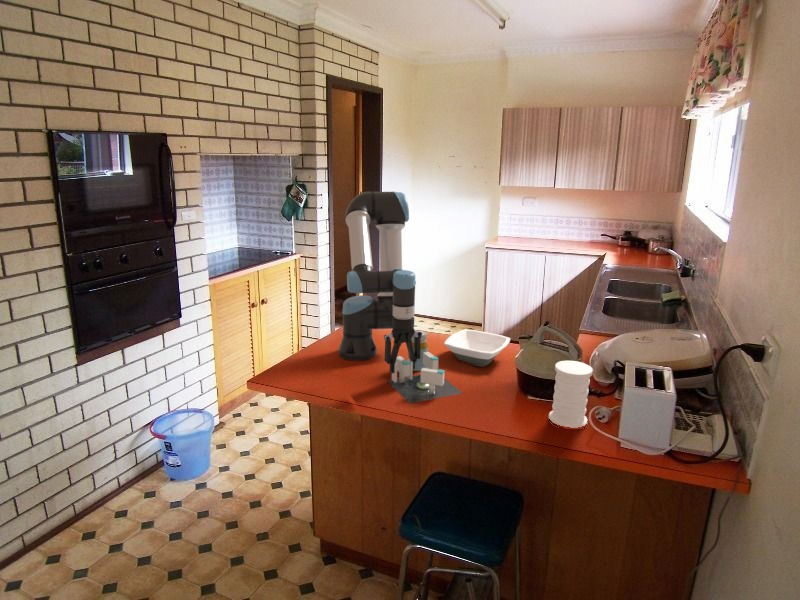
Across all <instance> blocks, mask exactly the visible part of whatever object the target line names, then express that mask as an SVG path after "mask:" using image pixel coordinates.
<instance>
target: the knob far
mask: <svg viewBox="0 0 800 600" xmlns="http://www.w3.org/2000/svg"><path fill="white" fill-rule="evenodd" d="M439 360H440V359H439V357H437V356H435V355H433V353H431V352H430V351H428V352H423V365H425V366H426V367H427V369H434V370H439Z"/></svg>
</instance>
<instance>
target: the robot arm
mask: <svg viewBox="0 0 800 600" xmlns="http://www.w3.org/2000/svg"><path fill="white" fill-rule="evenodd" d="M344 220H345V223H346V226H347V227H348V236H349V238H348V239H349V248H350V249H349V250H350V264H351V271H348V272H347V273H346V283H347V284H346V285H347V291H348V293H350V294H352V293H353V294H362V295H355V296H351V297H349V298H347V299H345V300H344V301H343V303H342V312H341V314H342V338H341V341H340V344H339V347H338V356H339V357H340V358H342V359H344V360H347V361H353V362H354V361H355V362H356V361H357V362H358V361H367V360H370V359H373V358H375V357H376V355H377V346H376V343H375V340H374V337H373V330H390V329H392V330H391V331H390V332H391V333H390V334H384V335H383V338H384V362H385V363H386V364H388V365H389V373H391V380H393V381H394V382H397V379H398V371H397V364H396V363H395V362H396V359H397V357H398V354H399V351H400V347H402V346H401V345H402V344H404V343H405V345H406V348H407V349H406V350H407V353H408V355H409V357H410V359H409V360H408V359H407V361H409V362H410V376H406V377H408V378H409V379H410V380H412V379H413V376H414V375H413V370H414V369H415V362H416V361H417V359H420V339H421V336H422V333H421V332H420V331H418V330H419V329H415V314H416V313H415V311H416V310H415V309H416V308H415V307H416V304H415V303H416V300H415V299H416V284H417V281H416V274H415V272H413V271H411V270H408V269H407V270H406V269H403V255H402V252H403V249H402V248H403V247H402V243H403V242H402V230H403V229H404V228H405V227H406V223H407V222H408V221H409V220H410V209H409V203H408V199H407V197H406V194H405V193H403V192H402V191H400V192H399V191H393V190H392V191H365V192H361V193H359V194H357V195H355V197H354V198H352V200H351V201H350V202H349V204H348V206H347V207H346V209H345V219H344ZM371 222H372V223H373V222H375V227H376V228H377V230H378V231H379V256H380V262H379V263H380V265H379V266H380V271H379V270H374V265H373V257H372V246H371V237H370V236H371V235H370V227H369V225H370V224H371ZM366 293H367V294H368V293H370V294H371V293H372V294H373V293H378V294H377V299H373V297H372V296H370V295H364V294H366ZM415 330H417V331H415ZM413 335H414V350H413V346H412V340H411V338H412V337H413ZM392 340H393V346H392Z"/></svg>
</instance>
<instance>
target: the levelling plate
mask: <svg viewBox="0 0 800 600" xmlns="http://www.w3.org/2000/svg"><path fill="white" fill-rule="evenodd" d="M420 380H421V374H418V375H413V379H412V380H410V379H409V378H408V377H407V376H405V382H404V383H400V382H399V378H397V382H394V381H393V380H392V379H389V380H386V382H387V383H388V384H389V385H390V386H391V387H392V388H393V389H394V390H395V391H396V392H397V393H398V394H399V395H400V396H401V397H402V398H403V399H404V400H405V401H406V402H407V403H408V404H413V403H418V402H419V403H420V402H424V401H429V400H435V399H440V398H445V397H450V396H455V395H461V394H463V392H462V391H461V390H460V389H459V388H458V387H456V386H454V385H453V384H452V383H451V382H450V381H448V380H447V379H446V378H445V377H444V384H443V386H440V385H435V394H429V384H427V383H421V382H420Z"/></svg>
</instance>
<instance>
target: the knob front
mask: <svg viewBox="0 0 800 600" xmlns="http://www.w3.org/2000/svg"><path fill="white" fill-rule="evenodd" d="M420 375H421V380H420V382H421V383H427V384H429V394H435V385H440V386H443V384H444V378H445V369H439V368H438V370H434V369H427V368H422V369H421V371H420Z"/></svg>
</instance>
